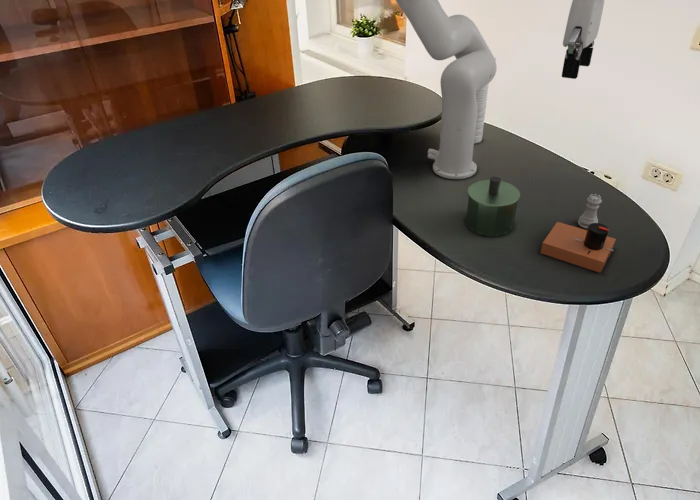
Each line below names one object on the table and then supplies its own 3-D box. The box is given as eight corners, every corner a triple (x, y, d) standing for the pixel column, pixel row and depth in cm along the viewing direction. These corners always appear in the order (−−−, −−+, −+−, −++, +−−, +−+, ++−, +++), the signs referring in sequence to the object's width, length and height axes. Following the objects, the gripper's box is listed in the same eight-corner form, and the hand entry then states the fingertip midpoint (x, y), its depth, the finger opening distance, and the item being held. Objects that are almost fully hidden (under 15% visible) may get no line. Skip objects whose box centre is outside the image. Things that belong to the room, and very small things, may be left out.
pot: (458, 227, 124) (461, 197, 118) (477, 207, 131) (481, 178, 125) (501, 242, 118) (506, 211, 113) (519, 219, 125) (525, 190, 120)
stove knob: (581, 246, 110) (586, 228, 107) (586, 237, 113) (591, 219, 110) (600, 252, 108) (606, 234, 106) (605, 243, 111) (611, 225, 108)
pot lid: (458, 200, 119) (460, 183, 116) (480, 179, 126) (482, 162, 124) (507, 215, 113) (510, 197, 110) (527, 192, 120) (530, 174, 118)
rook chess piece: (600, 228, 120) (609, 200, 116) (583, 231, 120) (591, 202, 115) (590, 218, 124) (598, 190, 119) (573, 221, 124) (581, 192, 119)
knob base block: (540, 253, 114) (542, 242, 112) (554, 231, 120) (557, 220, 118) (603, 274, 107) (607, 262, 105) (615, 250, 114) (619, 239, 112)
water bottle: (469, 145, 159) (478, 65, 144) (457, 138, 164) (464, 60, 149) (491, 139, 162) (502, 60, 147) (478, 132, 167) (487, 55, 152)
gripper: (584, -22, 110) (570, 59, 120) (560, -7, 99) (546, 80, 109) (621, -21, 106) (603, 62, 116) (600, -6, 95) (582, 85, 105)
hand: (575, 71), depth 113 cm, fingers open, 9 cm apart
